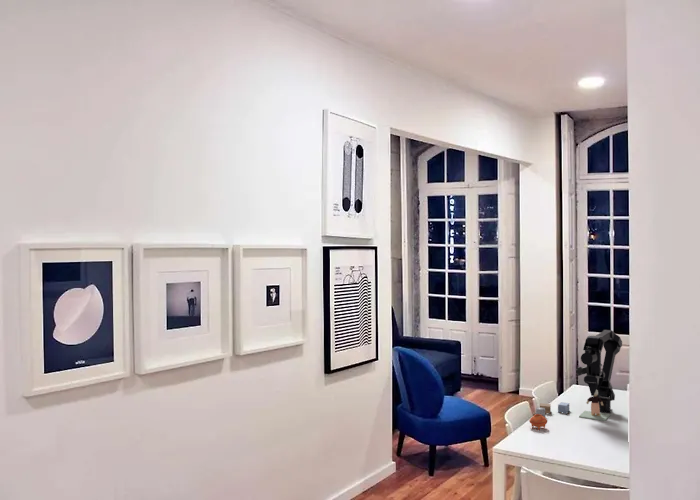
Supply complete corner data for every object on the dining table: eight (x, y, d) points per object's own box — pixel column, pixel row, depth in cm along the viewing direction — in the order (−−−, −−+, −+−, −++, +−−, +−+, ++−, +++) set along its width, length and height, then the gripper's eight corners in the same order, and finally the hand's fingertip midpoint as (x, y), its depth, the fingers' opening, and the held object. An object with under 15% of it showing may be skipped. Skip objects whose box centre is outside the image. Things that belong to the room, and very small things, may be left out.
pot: (550, 430, 278) (546, 415, 278) (532, 433, 280) (528, 419, 280) (548, 424, 286) (544, 410, 286) (530, 428, 288) (527, 413, 288)
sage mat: (584, 411, 311) (584, 410, 311) (610, 415, 304) (610, 414, 304) (579, 417, 301) (579, 416, 301) (605, 421, 294) (605, 419, 294)
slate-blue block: (561, 410, 315) (561, 402, 315) (569, 411, 313) (569, 403, 313) (558, 412, 310) (558, 404, 310) (566, 413, 308) (566, 405, 308)
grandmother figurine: (601, 414, 304) (601, 388, 304) (604, 416, 300) (603, 390, 300) (585, 413, 305) (585, 388, 305) (587, 415, 301) (587, 389, 301)
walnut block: (540, 411, 313) (540, 403, 313) (550, 411, 312) (550, 404, 311) (539, 413, 308) (539, 405, 308) (550, 414, 307) (550, 406, 307)
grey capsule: (537, 415, 305) (537, 407, 305) (546, 416, 303) (546, 408, 303) (534, 417, 301) (534, 409, 301) (543, 418, 299) (543, 410, 299)
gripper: (581, 357, 315) (581, 388, 315) (572, 363, 299) (572, 395, 299) (605, 359, 309) (605, 391, 309) (597, 365, 293) (597, 398, 293)
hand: (594, 393), depth 302 cm, fingers open, 9 cm apart
